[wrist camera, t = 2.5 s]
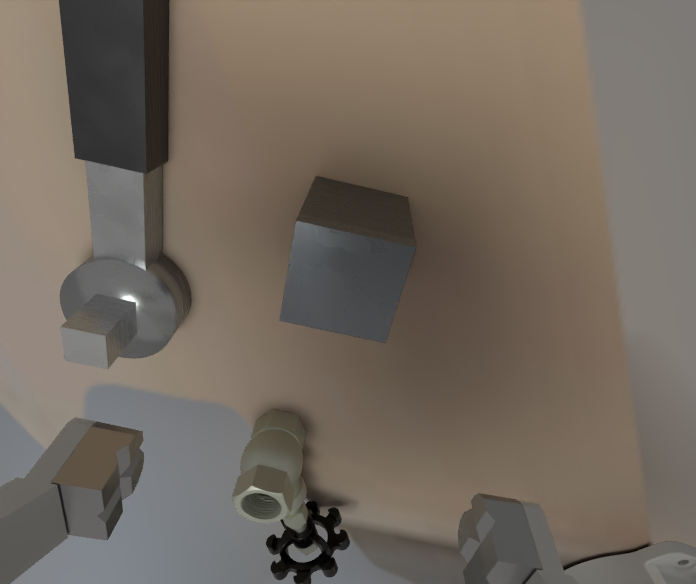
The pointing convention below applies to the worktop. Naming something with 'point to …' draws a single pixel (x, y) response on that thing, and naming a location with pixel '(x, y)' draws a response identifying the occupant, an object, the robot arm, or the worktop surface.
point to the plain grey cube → (348, 260)
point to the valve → (285, 497)
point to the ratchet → (120, 181)
